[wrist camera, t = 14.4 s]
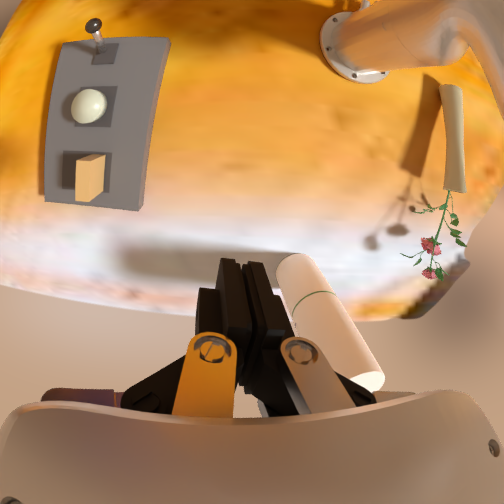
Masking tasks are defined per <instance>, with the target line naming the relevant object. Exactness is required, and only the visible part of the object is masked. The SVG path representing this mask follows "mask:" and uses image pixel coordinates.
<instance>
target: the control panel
mask: <svg viewBox="0 0 504 504" xmlns="http://www.w3.org/2000/svg"><path fill="white" fill-rule="evenodd" d="M103 40H104V43H105V46H106V48H107V50H106V52H104V53H100V52H99V50H98V48H97V45H96V43H95V40H94V39H90V40H81V41H74V42H67V43H63V45H62V49H61V52H60V56H59V60H58V64H57V68H56V73H55V78H54V82H53V88H52V93H51V99H50V106H49V113H48V121H47V131H46V143H45V163H44V195H45V202H55V203H66V204H76V205H85V206H95V207H104V208H113V209H122V210H130V211H139V210H140V208H141V207H142V206H143V201H144V189H145V179H146V170H147V162H148V155H149V147H150V141H151V134H152V128H153V122H154V116H155V111H156V106H157V101H158V96H159V91H160V86H161V82H162V78H163V73H164V69H165V65H166V61H167V57H168V54H169V50H170V46H171V42H170V40H169V38H164V37H116V38H103ZM86 89H93V90H98V91H101V92H102V93H103V94H104V95H105V96H106V99H107V108H106V111H105V113H104V115H103V116H102V117H101V118H100V119H99V120H97V121H95V122H92V123H79V122H77V121H76V120H75V119H74V118H73V116H72V113H71V106H72V102H73V100H74V98H75V97H76V96H77V94H79V93H80V92H81V91H83V90H86ZM92 154H100V155H106V156H105V168H104V183H103V191H102V192H101V193H100V194H99V195H97V196H96V197H95V198H94V199H92V200H91V201H90V202H83V201H75V183H76V160H79V159H81V158H84V157H86V156H89V155H92Z"/></svg>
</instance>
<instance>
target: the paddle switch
mask: <svg viewBox="0 0 504 504" xmlns="http://www.w3.org/2000/svg"><path fill="white" fill-rule="evenodd" d="M105 156H106V155H100V154H92V155H89V156H86V157H84V158H81V159H79V160H76V183H75V201H83V202H90V201H91V200H92V199H94V198H95V197H96V196H97V195H99V194H100V193H101V192H102V191H103V183H104V168H105Z"/></svg>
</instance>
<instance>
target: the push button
mask: <svg viewBox="0 0 504 504" xmlns="http://www.w3.org/2000/svg"><path fill="white" fill-rule="evenodd" d="M106 108H107V99H106V96H105V95H104V94H103V93H102V92H101V91H98V90H93V89H86V90H83V91H81V92H80V93H79V94H77V96H76V97H75V98H74V100H73V102H72V106H71V113H72V116H73V118H74V119H75V120H76V121H77V122H79V123H92V122H95V121H97V120H99V119H100V118H101V117H102V116H103V115H104V113H105V111H106Z"/></svg>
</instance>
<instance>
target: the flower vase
mask: <svg viewBox="0 0 504 504" xmlns="http://www.w3.org/2000/svg"><path fill="white" fill-rule="evenodd" d="M439 92H440V97H441V102H442V107H443V114H444V122H445V131H446V165H445V178H444V186H443V189H444V190H448V195H447V200H446V203H445V204H443V205H442V206H440V208H439V210H443V209H444V212H443V216H442V220H441V223H440V226H439V229H438V232H437V234H436V237H435V239H433V236H432V237H431V238H426V239H427V240H424V239H425V238H423V239H422V238H421V241H422V242H423V243H421V244H422V247H423V249H424V251H426V250H427V253H428V254H430V253H431V255H432V258H433V256H434V255H440V254H441V253H440V252H441V251H440V248H439V245H440V244H442V243H438V242H437V238H438V235H439V232H440V229H441V225H442V222H443V219H444V215H445V211H446V210H447V209H446V208H447V207H448V206H447V202H448V199H449V193H450V191H455V192H460V193H467V190H466V184H465V162H464V144H463V141H464V125H463V100H462V89H461V88H459V87H458V86H455V85H447V84H445V85H441V86H440V87H439ZM450 195H451V194H450ZM451 198H452V196H451ZM427 207H428V208H431V209H432V210H434V209H435V208H432V207H431V206H430V205H429V204H428V205H427ZM437 208H438V207H437ZM437 208H436V209H437ZM423 210H424V212H425V211H427V210H429V209H427V210H425V209H423ZM432 210H430V211H429V212H433V211H432ZM452 210H453V203H452ZM412 212H413V211H412ZM424 212H421V213H420V212H415V213H420V214H422V213H424ZM448 212H449V211H448ZM449 213H450V212H449ZM450 216H451V217H452V218H455V220H453V221H452V222H451V223H450V224H453V225H455V226H458V223H459V221H458V218H457V215H456V214H454V213H452V214H450ZM452 218H451V220H452ZM456 218H457V219H456ZM444 220H445V219H444ZM445 222H446V221H445ZM446 224H447V223H446ZM447 226H448V225H447ZM448 228H449V229H450V230H451V231H452V232H451V233H450V235H452V236H453V237H457V238H461V237H460V236H458V235H459V234H460V233H462V232H460V231H458V230H454V229H452V228H450V227H449V226H448ZM457 238H456V243H457V244H458V245H460V246H464V247H467V246H466V245H465V244H464V243H463V242H462V241H460V240H459V239H457ZM435 240H436V241H435ZM420 253H421V252H420ZM422 253H423V251H422ZM400 254H401V253H400ZM418 254H419V253H418ZM402 255H403V254H402ZM416 255H417V254H416ZM404 256H406V255H404ZM414 256H415V255H414ZM414 256H412V257H409V258H413V257H414ZM406 257H408V256H406ZM420 257H421V255H420ZM432 258H431V264H430V268H429V267H428V268H427V269H425V270H424V271H422V272H423V273H422V275H424V276H425V277H426V278H428V279H429V278H430V279H434V278H437V277H438V278H439V279H440V280H442V281H443V274H442V271H443V270H442V268H441V266H440V269H439V268H437V269H432V268H431V265H432ZM421 260H422V259H421V258H420V259H419V260H418V262H417V263H416V264H415V265H417V264H418V263H420V262H421ZM435 263H437V262H435ZM438 264H439V263H438ZM415 265H414V266H415ZM439 265H440V264H439ZM436 266H437V265H436ZM443 272H444V271H443ZM444 273H446V272H444ZM446 274H447V273H446ZM435 275H436V276H437V277H436V276H435ZM448 275H449V274H448Z"/></svg>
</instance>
